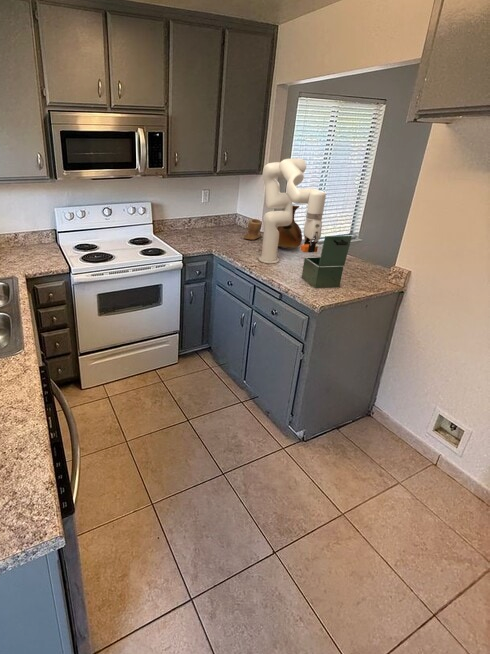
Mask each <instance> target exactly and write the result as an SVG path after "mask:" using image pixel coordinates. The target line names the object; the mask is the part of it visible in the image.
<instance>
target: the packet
mask: <svg viewBox="0 0 490 654" xmlns="http://www.w3.org/2000/svg"><path fill="white" fill-rule="evenodd" d="M309 245H310V244H304V243H303V244H302V243H301V245H300V248H299V249H300V251H301V252H303V253H309V252H308V248H309ZM318 249H319V246H318V245H317V244H316V245H315V251H314V252H313V253H318Z"/></svg>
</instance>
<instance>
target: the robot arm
mask: <svg viewBox="0 0 490 654" xmlns="http://www.w3.org/2000/svg"><path fill="white" fill-rule="evenodd" d="M306 170H307V163H306V161H305V160H304V158H296V157H295V158H284V159H282V160H281V161H275V162H269V163H266V164H265V165H264V167H263V169H262V180H263V183H264V192H265V193H264V194H265V196H264V197H265V198H264V199H265V207H266V209H270V211H268V212H265V213H264V215H263V219H262V220H263V234H262V245H261V253H260V254H261V256H260V255H259V257H258V261H259V262H261V263H264V264H277V263H279V262H280V259H279V258H278V249H279V246H278V242H279V231H278V230H277V227H279V226H289V225H290V224H291V223H292V219H293V204H294V205H295V204H296V205H302V204H307V209H306V215H305V221H304V225H303V236H304V240H303V241H304V243H303V244H310V245H309V248H308V252H307V253H315V252H314V251H315V245H316V246H317V243H319V241H320V240H321V238H322V229H323V227H322V226H323V221H322V220H323V215H324V210H325V209H324V208H325V203H326V197H327V193H326V192H325V191H322V190H319V189H317V188H314V187H313V188H311V187H310V188H299V187H297V186H299V185H300V184H302V182H303V181H304V179H305V178H304V177H305V175H304V173H305V171H306ZM277 178H284V179H285V180H286V182H287V183H286V187H285V190H286V191H285V192H281V187H280V183H279V181H278V180H277ZM279 209H281V210H279Z"/></svg>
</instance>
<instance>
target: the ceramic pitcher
mask: <svg viewBox="0 0 490 654" xmlns="http://www.w3.org/2000/svg"><path fill="white" fill-rule="evenodd" d="M299 208H300V205H295V204H294V205H293V219H292V223H291V224H290V225H289V226H279V227H277V230H278V231H279V242H278V247H280V248H285V249H290V250H293V249H296V248H298V247H301V244H302V241H303V232H302V230H301V227H300V226H299V225H298V222H297V223H296V221H295V215H296V211H297V209H299Z"/></svg>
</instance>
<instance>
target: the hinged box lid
mask: <svg viewBox="0 0 490 654" xmlns="http://www.w3.org/2000/svg"><path fill="white" fill-rule="evenodd" d="M352 238H353V236H352V235H330V236H329V235H325V236H324V240H323V244H322V249H321V253H320V256H319V257H320V261H319V267H327V266H344V267H345V266H346V265H345V264H346V261H347V256H348V253H349V249H350V246H351V241H352Z"/></svg>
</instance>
